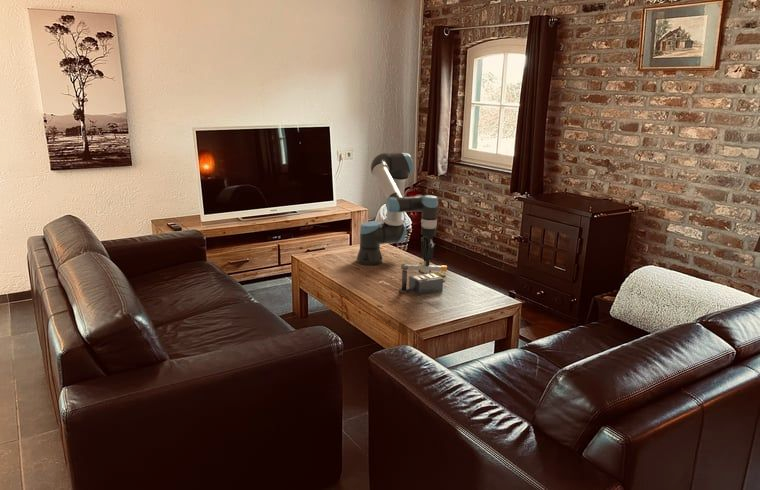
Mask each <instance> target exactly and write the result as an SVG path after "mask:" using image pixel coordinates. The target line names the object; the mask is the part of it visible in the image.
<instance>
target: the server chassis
mask: <svg viewBox="0 0 760 490" xmlns="http://www.w3.org/2000/svg"><path fill="white" fill-rule="evenodd" d="M443 279H444V278H443V276H441V277H440V276H438V275H436V274H434V272H430V273H427V274H421V273H419V274H414V275H409V277H408V289H409V291H410V292H413V293H414V294H416V295H418V296H422V295H429V294H436V293H440V292H441V293H442V292H443V289H444V287H443V286H444V281H443Z"/></svg>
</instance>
